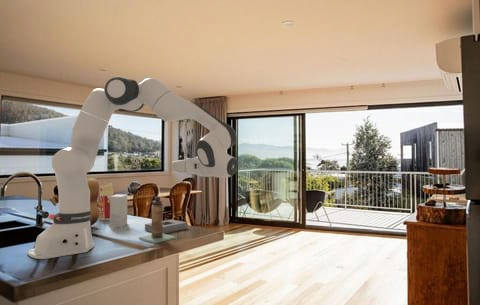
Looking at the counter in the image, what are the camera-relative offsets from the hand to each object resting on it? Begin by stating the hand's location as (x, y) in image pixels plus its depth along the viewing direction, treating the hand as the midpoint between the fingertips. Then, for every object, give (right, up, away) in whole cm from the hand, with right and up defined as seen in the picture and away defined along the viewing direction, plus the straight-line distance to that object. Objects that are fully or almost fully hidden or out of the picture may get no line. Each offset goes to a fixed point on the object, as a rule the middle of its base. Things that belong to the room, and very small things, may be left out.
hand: (182, 165), depth 151 cm
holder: (-11, -32, +17) cm, 38 cm away
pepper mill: (-11, -31, -2) cm, 33 cm away
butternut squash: (-52, -32, +21) cm, 65 cm away
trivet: (-11, -32, -2) cm, 34 cm away
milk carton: (-51, -32, +46) cm, 75 cm away
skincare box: (-37, -32, +26) cm, 56 cm away
